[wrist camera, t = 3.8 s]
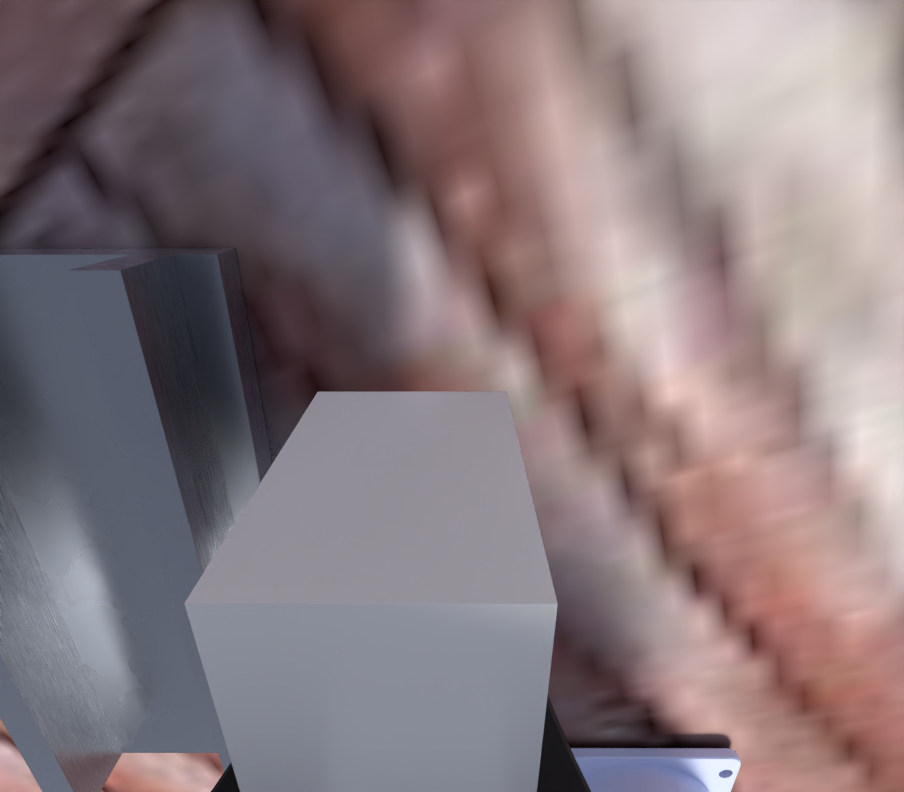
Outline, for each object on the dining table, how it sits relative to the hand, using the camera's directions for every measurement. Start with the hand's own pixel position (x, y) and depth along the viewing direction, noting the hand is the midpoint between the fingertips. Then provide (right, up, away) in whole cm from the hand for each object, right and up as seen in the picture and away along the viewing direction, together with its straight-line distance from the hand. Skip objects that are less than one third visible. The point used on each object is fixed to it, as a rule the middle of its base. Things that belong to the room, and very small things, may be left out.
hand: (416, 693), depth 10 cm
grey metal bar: (0, +1, +2) cm, 2 cm away
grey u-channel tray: (-9, +1, +6) cm, 11 cm away
